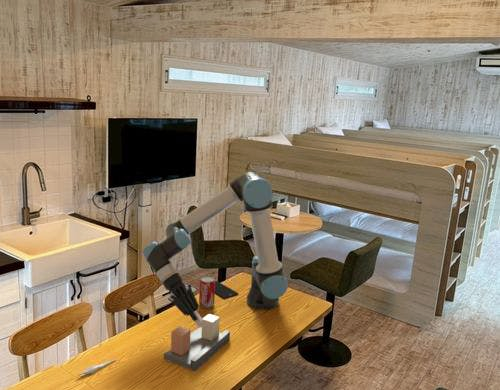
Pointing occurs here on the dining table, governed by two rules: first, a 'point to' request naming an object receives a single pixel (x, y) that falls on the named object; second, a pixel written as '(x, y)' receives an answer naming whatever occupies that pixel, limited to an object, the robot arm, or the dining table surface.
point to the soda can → (207, 292)
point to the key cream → (210, 327)
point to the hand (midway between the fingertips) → (202, 325)
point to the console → (198, 350)
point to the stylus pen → (94, 368)
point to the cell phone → (224, 291)
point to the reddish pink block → (180, 340)
